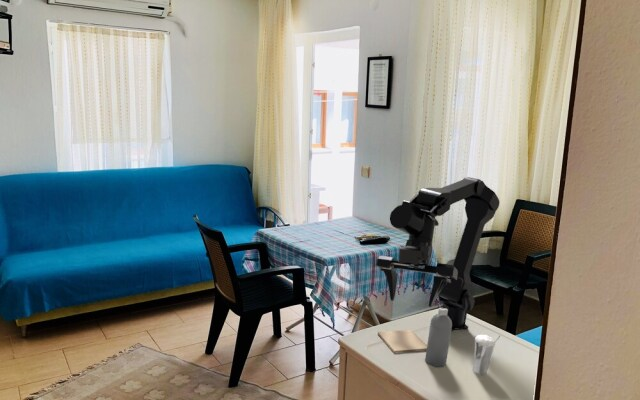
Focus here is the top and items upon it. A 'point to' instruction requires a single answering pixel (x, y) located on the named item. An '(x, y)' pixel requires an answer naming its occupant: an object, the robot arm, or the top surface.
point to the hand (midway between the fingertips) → (410, 303)
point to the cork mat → (403, 341)
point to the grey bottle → (438, 339)
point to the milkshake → (483, 353)
